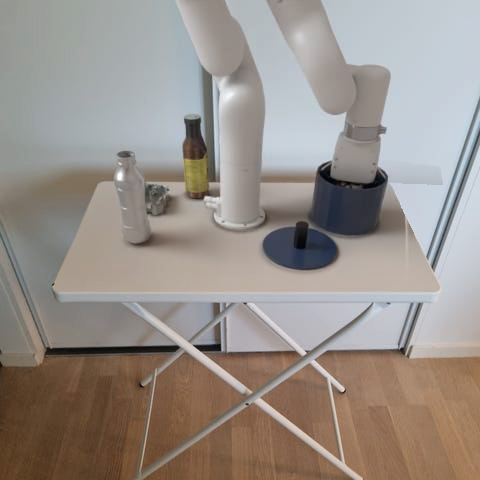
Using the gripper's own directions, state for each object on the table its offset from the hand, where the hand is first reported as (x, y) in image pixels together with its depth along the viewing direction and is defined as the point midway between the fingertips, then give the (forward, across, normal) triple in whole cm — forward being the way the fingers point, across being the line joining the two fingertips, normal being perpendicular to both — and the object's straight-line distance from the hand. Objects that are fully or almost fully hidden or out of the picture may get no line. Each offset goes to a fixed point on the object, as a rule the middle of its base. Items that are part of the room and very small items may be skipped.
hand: (346, 204), depth 112 cm
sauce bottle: (+4, +39, -2) cm, 39 cm away
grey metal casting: (+4, +48, +6) cm, 49 cm away
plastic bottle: (+4, +45, +22) cm, 51 cm away
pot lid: (+3, +9, +16) cm, 19 cm away
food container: (+4, 0, 0) cm, 4 cm away
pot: (+4, 0, 0) cm, 4 cm away
